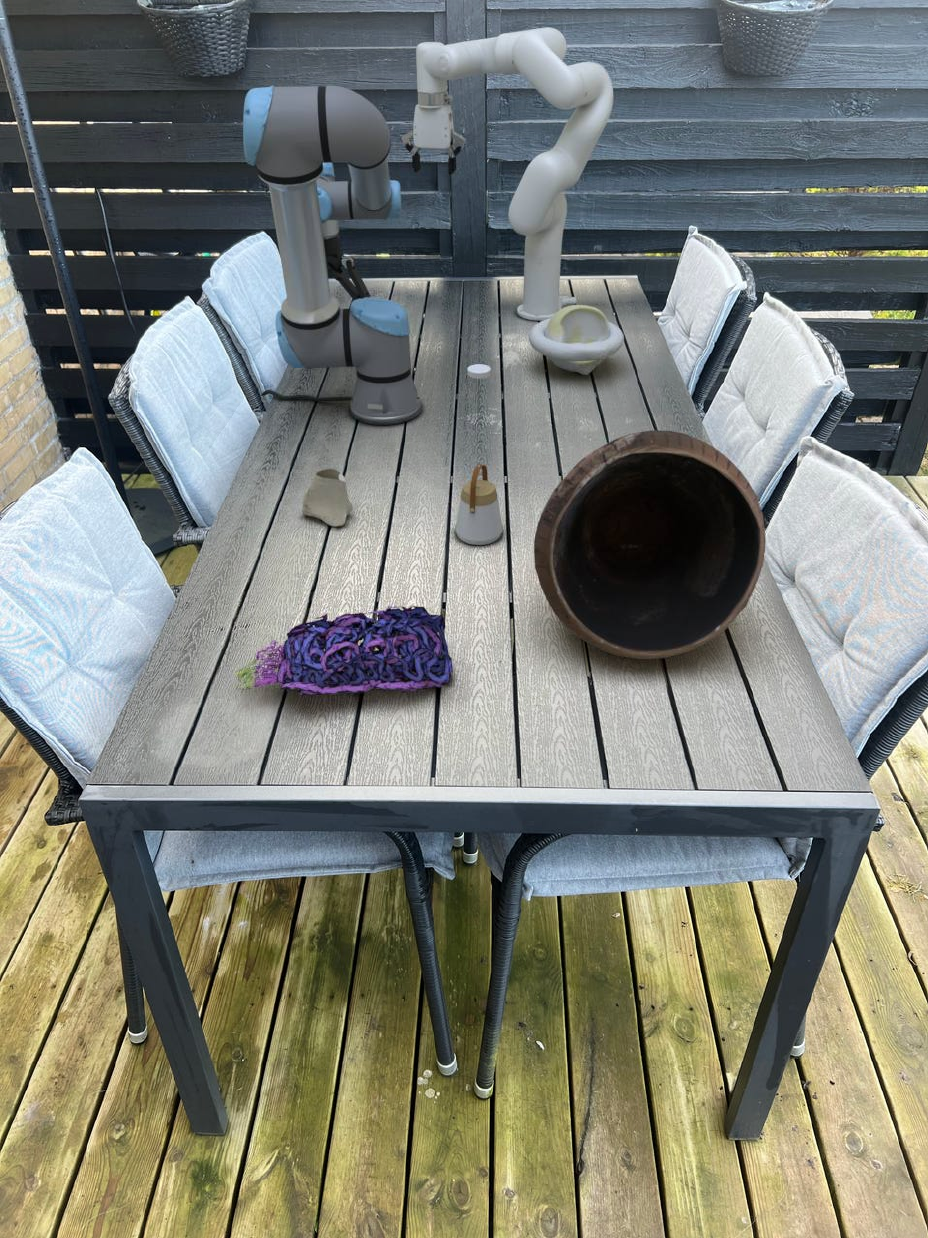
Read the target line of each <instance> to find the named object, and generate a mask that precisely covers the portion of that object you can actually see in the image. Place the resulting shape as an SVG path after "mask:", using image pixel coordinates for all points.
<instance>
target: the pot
mask: <svg viewBox="0 0 928 1238" xmlns="http://www.w3.org/2000/svg"><path fill="white" fill-rule="evenodd" d="M535 530H536V531H535V534H534V540H533V545H534V546H533V558H534V569H535V572H536V576H537V579H538V582H539V585H540V587H541V590H542V592H543V594H544V597H545V599H546V601H547V603H548V605H549V607H550V608H551V610H552V612H553V613H554V614H555V616H556V617H557V619H558V620H559V621H560V622H561V623H562V624H563V625H564V626H565V627H566V628H568V629H569V630H570V631H571V632H572V633H573V634H574V635H576V636H577V637H578V638H580V639H581V640H582V641H583V642H585V643H586V644H589V645H591V646H593V647H594V648H597V649H599V650H601V651H603V652H606V653H608V654H611V655H614V656H616V657H623V658H631V659H639V660H654V659H668V658H672V657H673V656H678V655H682V654H686V653H688V652H691V651H693V650H695V649H697V648H699V647H701V646H703V645H705V644H707V643H709V642H710V641H712V640H713V639H715V638H716V637H718V636H720V635H721V634H722V633H723V632H725V631H726V630H727V629H728V628H729V626H730V625H731V624H732V623H734V622H735V620H736V619H737V618H738V616H739V614H740V613H741V612H742V611H743V610H744V609H745V608H747V606H748V603H749V601H750V599H751V597H752V595H753V594H754V591H755V589H756V588H757V587H756V586H757V585H756V584H757V583H758V581H759V579H760V576H761V573H762V569H763V566H764V561H765V553H766V542H767V541H766V539H767V538H766V530H765V521H764V513H763V511H762V509H761V506H760V502H759V499H758V496H757V494H756V492H755V490H754V489H753V487H752V485H751V483H750V482H749V480H748V479H747V477H746V476H745V475H744V474H743V472H742V471H741V470H740V469H739V467H738V466H736V465H735V464H734V463H733V461H732V460H730V459H729V458H728V457H727V456H726V455H725V454H724V453H723V452H721V450H718V449H717V448H716V447H714V446H713V445H711V444H709V443H707V442H705V441H703V440H702V439H699V438H696V437H693V436H690V435H688V434H685V433H682V432H677V431H673V430H659V429H657V430H655V429H652V430H645V431H638V432H634V433H633V432H632V433H629V434H626V435H623V436H620V437H618V438H615V439H613V440H611V441H610V442H608V443H606V444H604V445H602V446H600V447H599V448H596V449H595V450H593V451H592V452H590V453H589V454H587V455H585V456H584V457H583V458H582V459H581V460H580V461H578V462H577V463H576V464H575V465H574V466H573V468H572V469H571V470H570V471H569V472H568V473H567V474H566V476H565V477H564V478H563V479H562V480H561V481H560V482H559V483H558V485H557V486H556V487H555V488H554V489H553V491H552V493H551V494H550V496H549V497H548V499H547V501H546V503H545V506H544V507H543V509H542V510H541V513H540V516H539V520H538V522H537V525H536V529H535Z"/></svg>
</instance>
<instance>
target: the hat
mask: <svg viewBox="0 0 928 1238" xmlns="http://www.w3.org/2000/svg"><path fill="white" fill-rule="evenodd" d="M528 341H529V345H530V346H531V347H532V348H533V350H535V351H536V352H537V353H538V354H541V355H543V356H545V357H548V358H549V359H550V360H551V361H552V363H553V364H554V365H555V366H556V367H558V368H560V369H562V370H563V371H568V372H573V373H578V374H581V375H583V376H587V375H589V374H590V373H591V372H593V371H594V369H595V368H596V367H597V366H599V365H600V364H601V363H602V362H603V361H604V360H605V359H606V358H608V357H612V356H613V355H615V354H616V353H617V352H619V350H621V348H622V347H623V345H624V342H625V335H624V332H623V331H622V330H621V328H619V326H617V325H616V324H614V323H612V322H610V321H609V320H608V318H607V317H606V315H605V313H604V312H603V311H602V310H601V309H600V308H598V307H595V306H591V305H586V304H574V305H566V306H564V307H563V308H562V309H560V310H559V311H557V312H556V313H555V314H554V315H553V316H552V318H549V319H547V320H544V321H539V322H538V323H536V324H535V325H534V326H532V328H531V329H530V331H529V333H528Z"/></svg>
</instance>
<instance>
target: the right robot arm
mask: <svg viewBox="0 0 928 1238" xmlns="http://www.w3.org/2000/svg"><path fill="white" fill-rule="evenodd" d="M566 55H567V40H566V38H565V35H563V33H562V32H561V31H560V30H559V29H556V28H554V27H540V28H533V29H526V30H518V31H513V32H505V33H501V34H499V35H498V36H494V37H488V38H482V39H480V38H479V39H474V40H473V39H472V40H467V41H466V40H465V41H460V42H454V43H450V44H444V43H442V42H439V41H425V42H421V43H418V44H417V45H416V49H415V61H416V64H415V65H416V90H417V104H415V107H414V116H413V126H412V127H413V128H412V130H410V131H409V132H407V133H404V134H403V135H401V140H402V143H403V145H404V147H405V149H406V150H407V152H408V153H409V154H410V156H411V159H412V160H411V162H412V165H411V166H412V169H413V173H418V172H420V171H421V155H420V153H419V151H421V149H422V150H441V151H444V150H445V151H446V154H447V155H449V157H448V160H447V161H448V169H447V171H448V175H450V176H452V175H453V174H454V173H455V171H456V170H457V156H458V155H459V154H460V153H461V152H462V150H463V148H464V146H465V144H466V141H467V139H466V138H465V137H464V136H462V135H461V134H459V133H458V132H456V131H455V125H454V118H453V111H452V106H451V105H450V104H448V103H449V102H453V99H454V98H453V95H452V94H449V91H448V81H455V80H460V79H463V78H468V77H469V78H470V77H474V76H479V75H488V74H493V73H494V74H495V73H500V74H501V75H503V76H511V75H520V74H521V75H522V77H524V79H525V80H526V81H527V82H528V83H529V84H530V85H531V86H532V87H533V88H534V90H536V91H537V92H538V93H539V94H540V95H541V96H542V97H543V98H544V99H545V100H546V101H547V102H548V104H550V105H551V106H553V107H554V108H556V109H559V110H563V111H568V110H571V109H574V111H573V113H572V115H571V116H570V117H569V119H568V120H567V122H566V123H565V125H564V127H563V129H562V131H561V134H560V136H559V137H558V139H557V142H556V143H555V145H554V146H553V147H552V148H551V149H548V150H547V151H543V152H542V153H540V154H537V155H536V156H535V157H534V158H533V159H532V160H531V161H530V163H528V165H527V167H526V168H525V171H524V173H523V175H522V178H521V179H520V181H519V184H518V186H517V188H516V190H515V193H514V195H513V197H512V199H511V202H510V204H509V207H508V215H507V216H508V222H509V225H510V227H511V229H512V230H513V231H514V233H516V234H518V235H520V236H525V241H524V254H523V255H524V258H523V259H524V260H523V262H524V264H523V265H524V266H523V293H522V295H523V296H522V303H521V304H519V306H517V307H516V314H517V315H518V316H519V317H520V318H523V319H526V320H529V321H537V322H538V321H539V322H541V321H544V320H547V319H549V318H552V316H553V315H554V314H555V313H556V312H557V311H559V310H560V309H562V308H564V307H566V306H571V305H577V298H576V297H575V296H571V297H569V296H568V295H562V296H561V294H560V285H561V284H560V282H561V264H562V263H561V262H562V249H563V248H562V247H563V236H564V229H565V224H566V218H567V214H568V202H567V198H566V196H565V194H564V191H566V190H568V189H570V188H572V187H574V186H575V185H576V184H578V181H579V180H580V178H581V176H582V173H583V172H584V170H585V168H586V165H587V163H588V162H589V160H590V158H591V156H592V153H593V152H594V149H595V147H596V144H597V143H598V141H599V139H600V137H601V135H602V134H603V132H604V130H605V128H606V126H607V124H608V122H609V119H610V117H611V113H612V110H613V106H614V88H613V83H612V80H611V77H610V75H609V73H608V71H607V70H606V69H605V68H604V67H603V66H602V65H601V64H599V63H598V62H593V61H583V62H577V63H573V64H570V65H567V63H565V62H564V60H565V58H566ZM412 137H413V144H412V143H411V142H410V138H412ZM455 141H457V142H458V144H457V146H456V148H455V147H454V145H455Z"/></svg>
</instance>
